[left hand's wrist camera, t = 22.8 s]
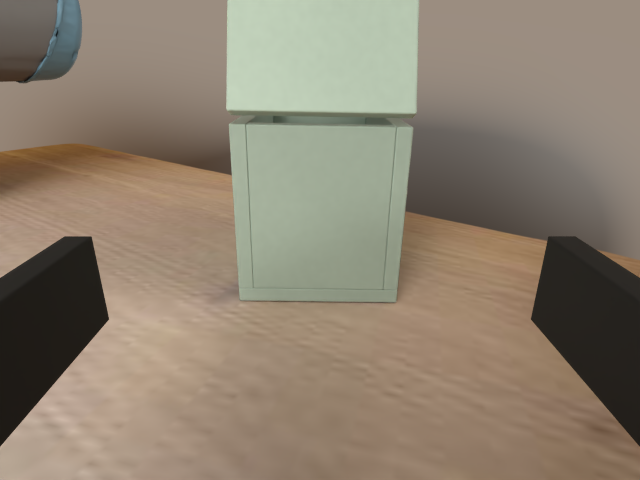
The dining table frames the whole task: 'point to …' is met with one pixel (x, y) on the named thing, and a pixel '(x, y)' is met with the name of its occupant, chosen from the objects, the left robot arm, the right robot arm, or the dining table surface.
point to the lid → (322, 58)
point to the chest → (319, 206)
